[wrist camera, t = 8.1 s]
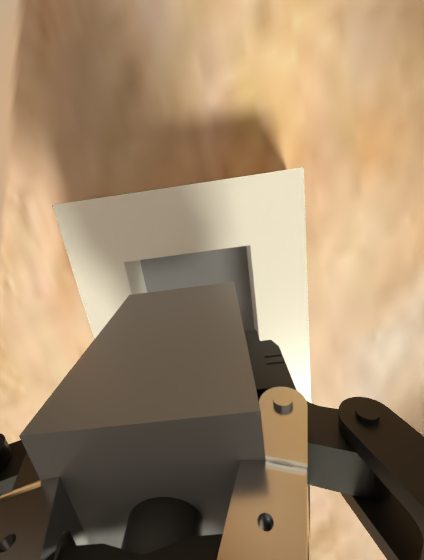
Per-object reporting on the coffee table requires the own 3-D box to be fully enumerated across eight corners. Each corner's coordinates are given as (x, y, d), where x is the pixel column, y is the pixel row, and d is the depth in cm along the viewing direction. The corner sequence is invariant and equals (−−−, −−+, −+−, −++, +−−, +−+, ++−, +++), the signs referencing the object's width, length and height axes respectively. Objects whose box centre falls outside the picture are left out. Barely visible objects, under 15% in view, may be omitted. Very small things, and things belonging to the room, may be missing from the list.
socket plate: (287, 170, 15) (309, 166, 12) (298, 399, 20) (316, 445, 17) (80, 201, 16) (41, 205, 12) (141, 415, 21) (125, 462, 18)
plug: (233, 281, 12) (289, 552, 3) (246, 388, 13) (304, 749, 5) (129, 294, 12) (-96, 582, 3) (155, 398, 14) (55, 759, 5)
